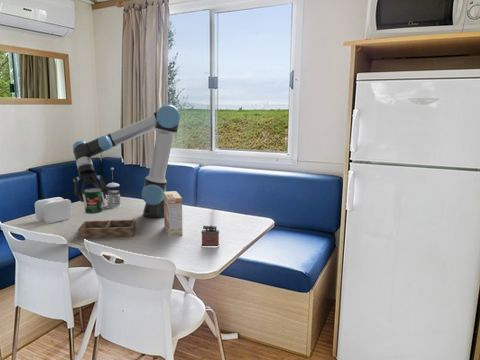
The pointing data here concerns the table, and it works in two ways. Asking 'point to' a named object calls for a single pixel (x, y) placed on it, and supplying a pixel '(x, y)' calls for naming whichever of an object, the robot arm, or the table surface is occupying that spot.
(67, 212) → the cable organizer
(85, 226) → the slot caddy
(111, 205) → the french press
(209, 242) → the lighter
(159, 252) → the table surface
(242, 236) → the table surface
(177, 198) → the coffeecake box
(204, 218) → the table surface
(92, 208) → the canned tomato
